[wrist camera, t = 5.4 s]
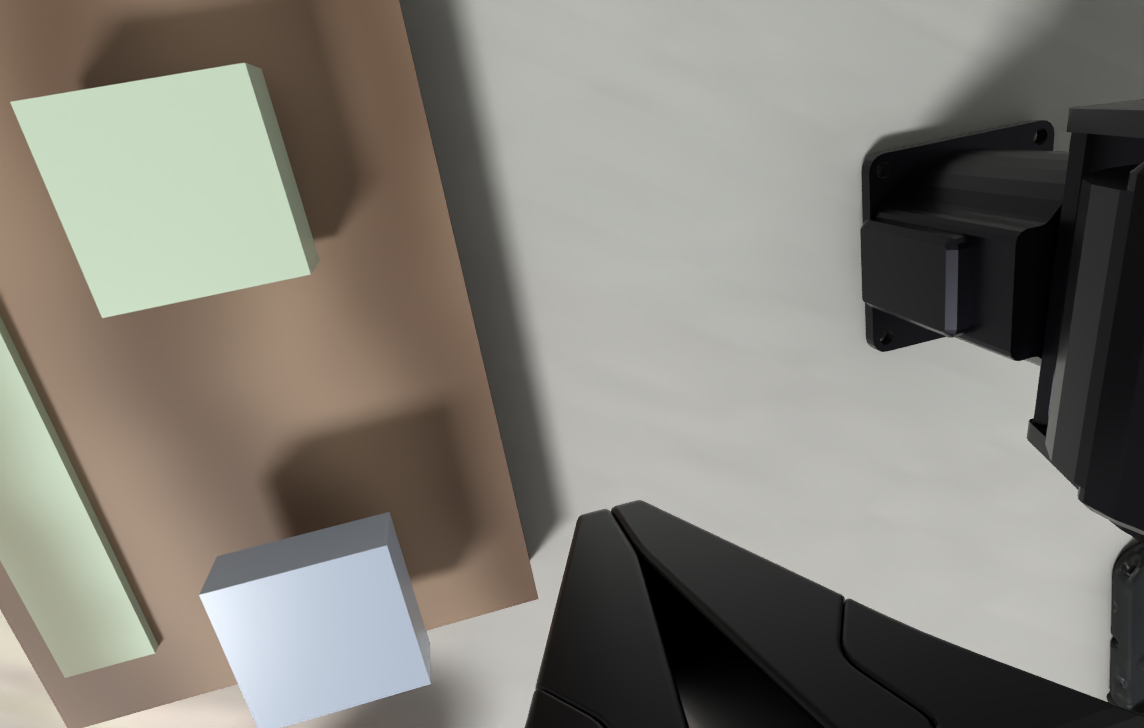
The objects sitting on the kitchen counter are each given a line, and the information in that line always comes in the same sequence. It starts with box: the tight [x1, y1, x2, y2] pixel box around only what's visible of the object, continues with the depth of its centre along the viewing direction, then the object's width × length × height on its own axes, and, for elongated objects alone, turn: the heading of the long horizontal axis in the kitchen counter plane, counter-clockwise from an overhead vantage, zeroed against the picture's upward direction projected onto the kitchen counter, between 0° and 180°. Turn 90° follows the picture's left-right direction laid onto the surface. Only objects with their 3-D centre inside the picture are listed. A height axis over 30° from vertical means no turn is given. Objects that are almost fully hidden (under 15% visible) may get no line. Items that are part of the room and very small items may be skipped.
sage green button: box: [10, 63, 320, 318], centre depth 15 cm, size 4×4×2 cm
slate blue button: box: [199, 512, 431, 728], centre depth 18 cm, size 4×4×2 cm
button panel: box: [0, 0, 538, 728], centre depth 17 cm, size 14×28×2 cm, turn 10°
